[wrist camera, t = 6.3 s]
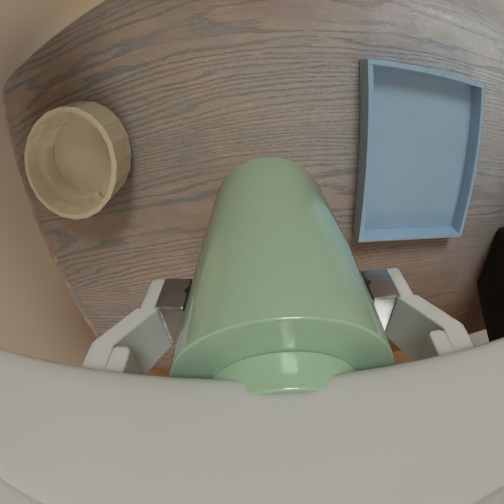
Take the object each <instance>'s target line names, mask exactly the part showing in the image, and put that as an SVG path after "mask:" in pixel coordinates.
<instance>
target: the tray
mask: <svg viewBox="0 0 504 504" xmlns="http://www.w3.org/2000/svg"><path fill="white" fill-rule="evenodd" d="M359 65H360V141H359V163H358V179H357V193H356V205H355V215H354V225H353V233H354V235H355V237H356V239H357V240H358V242H373V241H392V240H411V239H431V238H450V237H461V234H462V231H463V227H464V224H465V220H466V216H467V212H468V208H469V204H470V200H471V195H472V190H473V186H474V181H475V175H476V170H477V164H478V158H479V151H480V144H481V135H482V126H483V114H484V97H485V85H484V84H481V83H478V82H475V81H472V80H469V79H466V78H462V77H459V76H455V75H452V74H448V73H444V72H440V71H436V70H432V69H427V68H423V67H418V66H413V65H408V64H402V63H396V62H390V61H384V60H376V59H359Z"/></svg>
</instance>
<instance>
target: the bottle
mask: <svg viewBox="0 0 504 504" xmlns="http://www.w3.org/2000/svg"><path fill="white" fill-rule="evenodd" d="M391 365H394V356H393V353H392V350H391V347H390V344H389V341H388V339H387V336H386V333H385V331H384V328H383V325H382V323H381V320H380V318H379V315H378V313H377V310H376V308H375V305H374V303H373V300H372V298H371V296H370V293H369V291H368V288H367V286H366V284H365V281H364V279H363V277H362V274H361V272H360V270H359V268H358V265H357V263H356V261H355V259H354V257H353V254H352V252H351V250H350V248H349V246H348V244H347V241H346V239H345V237H344V235H343V233H342V231H341V229H340V227H339V225H338V223H337V221H336V219H335V217H334V215H333V213H332V211H331V209H330V207H329V205H328V203H327V201H326V199H325V197H324V195H323V193H322V191H321V189H320V187H319V185H318V183H317V182H316V180H315V179H314V177H313V176H312V175H311V174H310V173H309V172H308V171H307V170H306V169H304V168H303V167H301V166H300V165H298V164H297V163H294V162H292V161H290V160H286V159H283V158H276V157H265V158H258V159H254V160H251V161H248V162H245V163H244V164H242V165H240V166H238V167H237V168H235V169H234V170H233V171H232V172H231V173H230V174H229V175H228V176H227V177H226V178H225V179H224V181H223V182H222V184H221V186H220V188H219V190H218V193H217V196H216V199H215V203H214V206H213V209H212V212H211V216H210V219H209V223H208V226H207V229H206V233H205V236H204V240H203V243H202V247H201V250H200V254H199V257H198V261H197V265H196V268H195V272H194V276H193V279H192V283H191V287H190V291H189V294H188V298H187V302H186V306H185V310H184V314H183V318H182V322H181V326H180V330H179V334H178V338H177V343H176V347H175V351H174V355H173V360H172V364H171V368H170V377H178V378H200V379H236V380H239V381H241V382H243V383H244V385H245V387H246V389H247V391H248V393H250V394H256V395H268V394H289V393H303V392H315V391H321V390H325V389H326V388H327V387H328V384H329V380H330V378H331V377H332V376H333V375H335V374H337V373H343V372H351V371H358V370H366V369H372V368H379V367H385V366H391Z"/></svg>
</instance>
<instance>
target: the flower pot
mask: <svg viewBox="0 0 504 504" xmlns="http://www.w3.org/2000/svg"><path fill="white" fill-rule="evenodd" d="M477 287H478V292H479V298H480V303H481V308H482V313H483V317H484V322H485V326H486V330H487V334H488V338H489V342H491V341H494V340H497V339H500V338H503V337H504V227H502V228H500V229H499V230H498V231H497V233H496V236H495V239H494V242H493V245H492V248H491V251H490V254H489V256H488V259H487V262H486V264H485V267H484V269H483V272H482V274H481V277H480V279H479V281H478V284H477Z"/></svg>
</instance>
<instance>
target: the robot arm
mask: <svg viewBox="0 0 504 504" xmlns="http://www.w3.org/2000/svg"><path fill="white" fill-rule="evenodd" d="M360 272H361V274H362V277H363V279H364V281H365V284H366V286H367V288H368V291H369V293H370V296H371V298H372V300H373V303H374V305H375V308H376V310H377V313H378V315H379V318H380V320H381V323H382V325H383V328H384V331H385V333H386V336H387V337H388V338H389V339H390V340H391V341H392V342H393V343H394V344H395V345H396V346H397V347H399V348H400V349H401V350H402V351H403V352H404V353H405V354H406V355H407V356H408V357H409V358H410V359H411V360H412V362H407V363H402V364H397V365H391V366H385V367H379V368H372V369H366V370H358V371H351V372H343V373H337V374H335V375H333V376H332V377H331V378H330V380H329V384H328V387H327V388H326V389H325V390H321V391H315V392H303V393H289V394H268V395H256V394H250V393H248V391H247V389H246V387H245V385H244V383H243V382H241V381H239V380H236V379H200V378H178V377H162V376H150V375H146V374H147V372H148V371H149V370H150V369H151V368H152V367H153V366H154V365H155V364H156V363H157V361H158V360H159V359H160V358H161V357H162V356H163V355H164V354H165V352H166V351H167V350H168V349H169V348H170V347H171V346H172V344H176V343H177V338H178V334H179V330H180V326H181V322H182V318H183V314H184V310H185V306H186V302H187V298H188V294H189V291H190V287H191V283H192V279H154V280H153V281H152V282H151V284H150V287H149V289H148V291H147V294H146V296H145V299H144V301H143V303H142V306H141V308H137V309H135V310H134V311H133V312H132V313H130V314H129V315H128V316H126V317H125V318H124V319H122V320H121V321H120V322H118V323H117V324H116V325H114V326H113V327H112V328H110V329H109V330H108V331H107V332H105V333H104V334H103V335H101V336H100V337H99V338H97V339H96V340H95V341H94V342H93V343H92V344H91V346H90V349H89V351H88V353H87V355H86V358H85V360H84V362H83V365H82V367H80V366H74V365H68V364H63V363H58V362H53V361H48V360H44V359H39V358H35V357H30V356H27V355H23V354H19V353H15V352H11V351H8V350H4V349H1V348H0V504H504V337H503V338H500V339H497V340H494V341H491V342H488V343H485V344H481V345H478V346H474V344H473V342H472V340H471V339H470V336H469V335H468V333H467V331H466V329H465V327H464V326H463V324H462V323H460V322H459V321H457V320H456V319H454V318H452V317H451V316H449V315H448V314H446V313H445V312H443V311H442V310H440V309H439V308H437V307H435V306H434V305H432V304H431V303H429V302H428V301H426V300H424V299H423V298H421V297H420V296H418V295H413V293H412V291H411V290H410V288H409V286H408V284H407V283H406V281H405V279H404V278H403V276H402V274H401V273H400V271H399V269H397V268H388V269H381V270H367V271H360Z"/></svg>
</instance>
